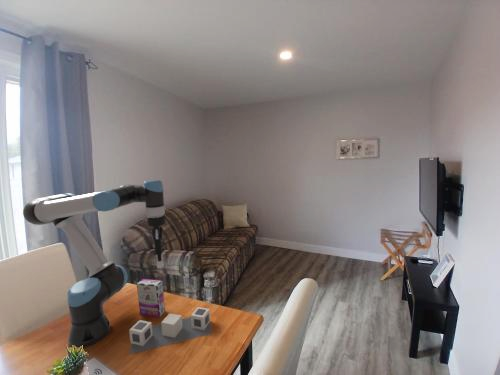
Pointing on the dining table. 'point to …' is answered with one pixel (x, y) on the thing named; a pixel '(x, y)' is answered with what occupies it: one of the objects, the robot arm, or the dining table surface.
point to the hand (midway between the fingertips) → (160, 266)
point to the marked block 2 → (200, 318)
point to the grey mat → (162, 340)
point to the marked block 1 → (141, 332)
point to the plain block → (171, 325)
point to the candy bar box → (151, 297)
